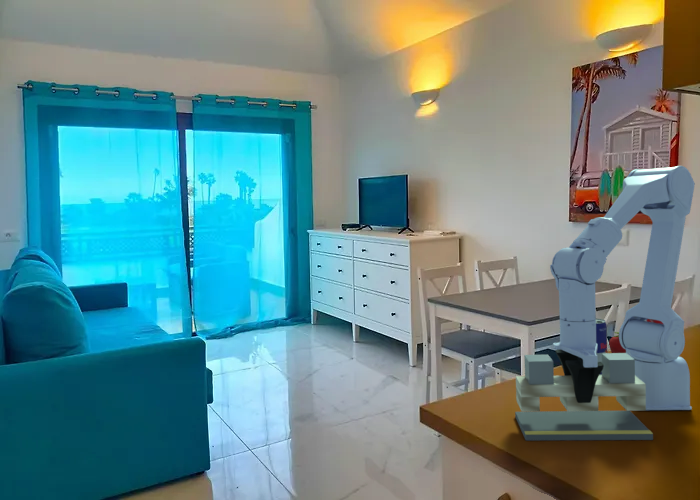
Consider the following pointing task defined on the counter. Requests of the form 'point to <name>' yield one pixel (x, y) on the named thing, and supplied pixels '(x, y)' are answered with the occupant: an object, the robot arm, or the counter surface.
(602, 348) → the energy drink
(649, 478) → the counter surface
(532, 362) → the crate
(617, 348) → the strawberry
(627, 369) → the block
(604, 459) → the counter surface
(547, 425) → the dock
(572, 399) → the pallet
